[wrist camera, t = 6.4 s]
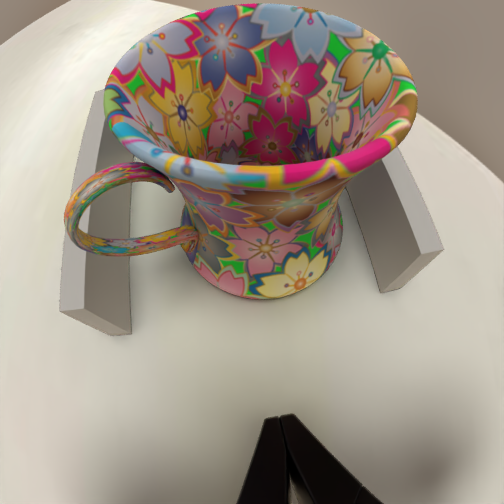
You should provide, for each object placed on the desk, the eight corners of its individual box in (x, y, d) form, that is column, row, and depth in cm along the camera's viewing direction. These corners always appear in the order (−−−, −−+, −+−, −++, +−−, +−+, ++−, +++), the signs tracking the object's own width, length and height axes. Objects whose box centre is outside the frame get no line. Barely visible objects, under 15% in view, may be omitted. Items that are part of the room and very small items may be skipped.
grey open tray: (399, 288, 16) (443, 249, 11) (111, 335, 15) (59, 311, 11) (330, 111, 22) (341, 56, 17) (119, 143, 21) (95, 91, 16)
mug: (274, 141, 20) (277, -11, 11) (378, 242, 17) (467, 95, 7) (111, 243, 18) (8, 111, 8) (198, 382, 14) (84, 358, 5)
